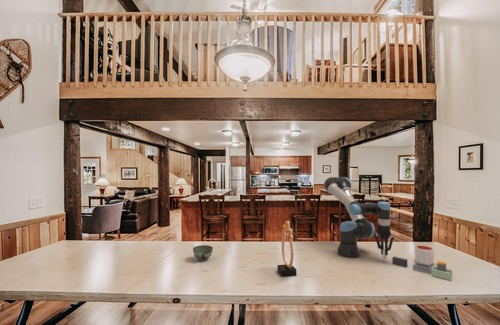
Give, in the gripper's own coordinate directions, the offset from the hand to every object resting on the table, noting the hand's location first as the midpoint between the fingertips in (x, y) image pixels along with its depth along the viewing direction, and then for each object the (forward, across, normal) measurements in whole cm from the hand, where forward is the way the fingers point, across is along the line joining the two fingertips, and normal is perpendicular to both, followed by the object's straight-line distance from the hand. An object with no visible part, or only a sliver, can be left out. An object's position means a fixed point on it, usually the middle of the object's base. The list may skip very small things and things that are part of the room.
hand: (384, 259), depth 175 cm
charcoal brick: (+2, +9, 0) cm, 9 cm away
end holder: (+1, +32, -3) cm, 32 cm away
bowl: (+1, -94, -81) cm, 124 cm away
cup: (+2, +20, +16) cm, 26 cm away
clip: (+1, +21, 0) cm, 21 cm away
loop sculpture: (+2, -38, -61) cm, 72 cm away
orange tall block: (+1, +32, -3) cm, 32 cm away
